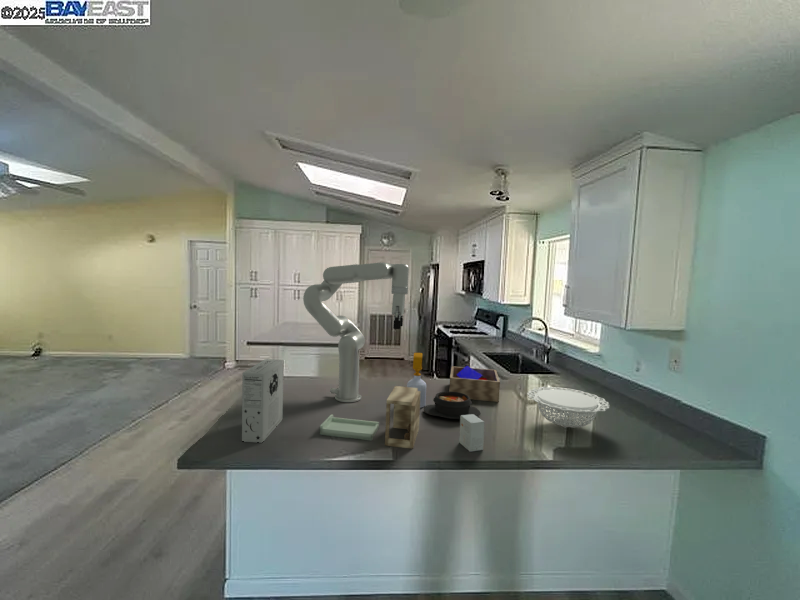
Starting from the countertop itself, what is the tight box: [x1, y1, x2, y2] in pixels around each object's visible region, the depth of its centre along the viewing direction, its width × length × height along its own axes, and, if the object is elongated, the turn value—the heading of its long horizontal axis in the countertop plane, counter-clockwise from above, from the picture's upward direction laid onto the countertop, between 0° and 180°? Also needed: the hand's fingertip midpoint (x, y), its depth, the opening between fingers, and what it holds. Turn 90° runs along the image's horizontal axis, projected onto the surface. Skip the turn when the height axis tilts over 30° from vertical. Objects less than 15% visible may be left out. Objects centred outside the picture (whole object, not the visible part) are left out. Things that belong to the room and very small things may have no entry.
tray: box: [319, 414, 380, 441], centre depth 151 cm, size 20×12×4 cm, turn 80°
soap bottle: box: [406, 352, 427, 409], centre depth 183 cm, size 9×9×25 cm
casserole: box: [423, 391, 481, 420], centre depth 173 cm, size 25×19×8 cm
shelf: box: [384, 385, 421, 449], centre depth 148 cm, size 10×17×17 cm, turn 171°
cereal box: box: [241, 358, 284, 444], centre depth 148 cm, size 22×8×25 cm, turn 178°
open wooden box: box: [449, 365, 501, 403], centre depth 207 cm, size 24×24×10 cm
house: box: [457, 365, 487, 380], centre depth 207 cm, size 12×20×12 cm, turn 13°
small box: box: [458, 414, 485, 452], centre depth 142 cm, size 8×6×10 cm
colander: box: [526, 386, 611, 428], centre depth 163 cm, size 32×32×13 cm
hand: (398, 327), depth 182 cm, fingers open, 9 cm apart
